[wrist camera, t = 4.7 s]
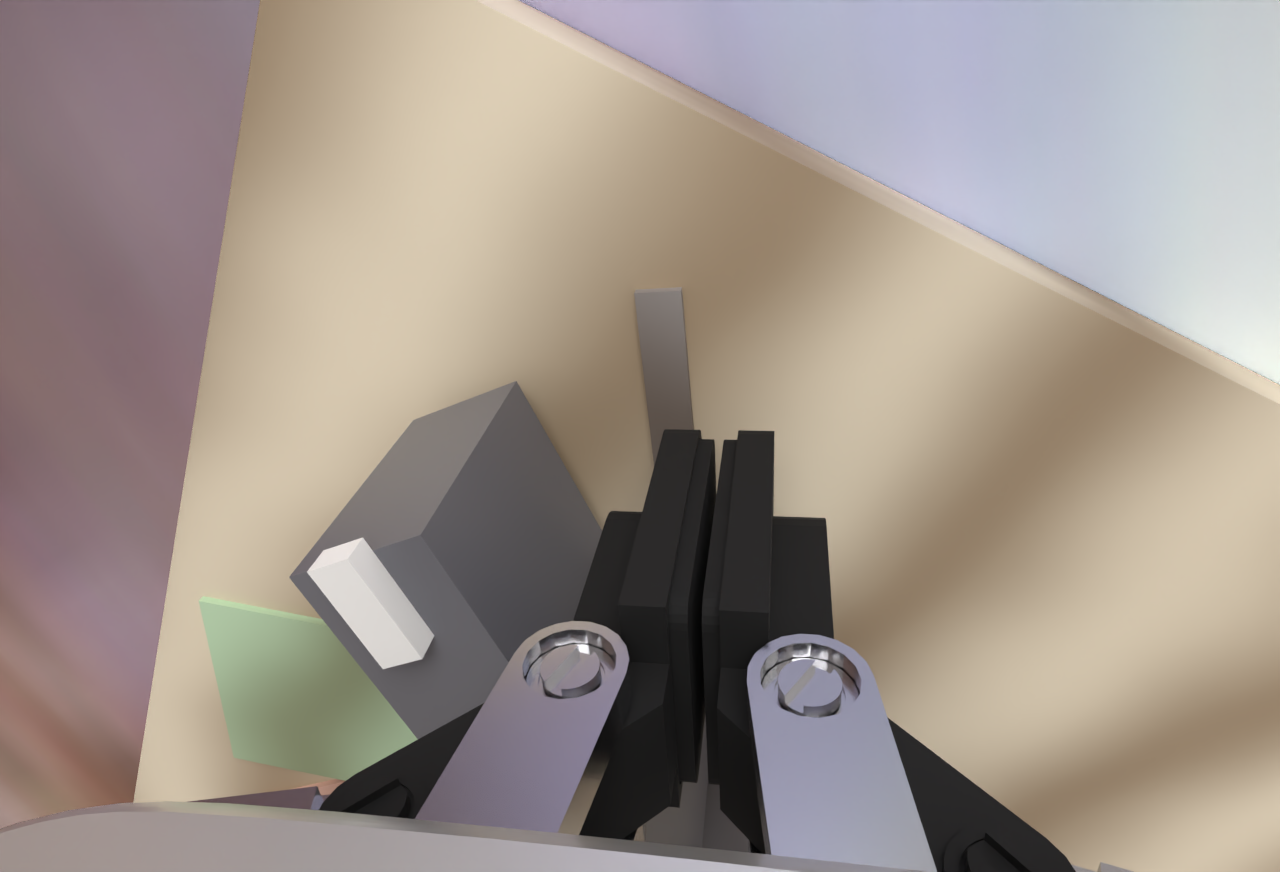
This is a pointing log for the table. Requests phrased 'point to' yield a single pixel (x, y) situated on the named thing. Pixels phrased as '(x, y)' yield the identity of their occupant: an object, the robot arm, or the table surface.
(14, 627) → the table surface
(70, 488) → the table surface
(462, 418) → the faucet
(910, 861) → the robot arm
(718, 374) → the board
